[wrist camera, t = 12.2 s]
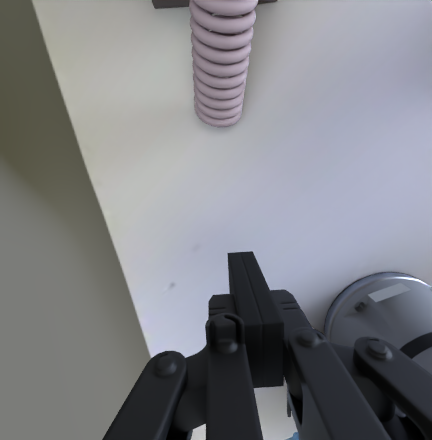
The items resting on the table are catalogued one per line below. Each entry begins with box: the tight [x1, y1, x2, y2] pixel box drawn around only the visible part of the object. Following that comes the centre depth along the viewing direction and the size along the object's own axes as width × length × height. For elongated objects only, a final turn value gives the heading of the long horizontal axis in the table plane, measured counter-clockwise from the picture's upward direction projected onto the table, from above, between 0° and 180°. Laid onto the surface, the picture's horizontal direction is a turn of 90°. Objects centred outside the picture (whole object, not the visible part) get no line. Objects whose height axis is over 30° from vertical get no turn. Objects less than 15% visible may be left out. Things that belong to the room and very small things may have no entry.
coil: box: [189, 0, 258, 127], centre depth 17 cm, size 5×5×18 cm
